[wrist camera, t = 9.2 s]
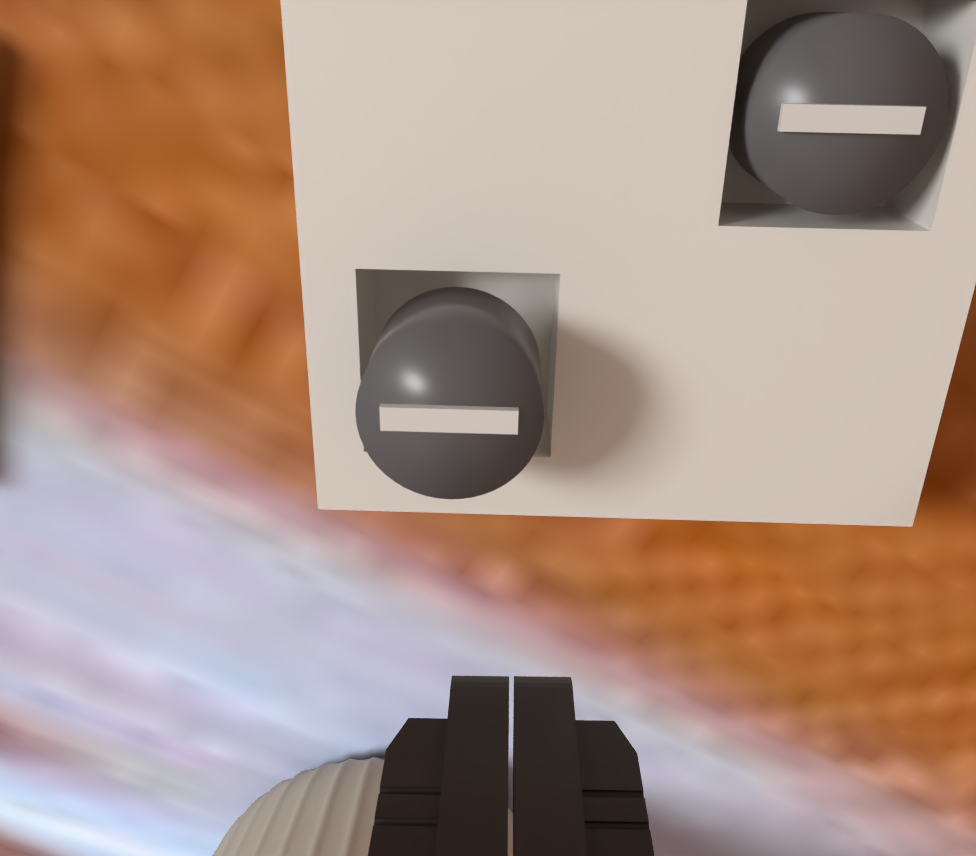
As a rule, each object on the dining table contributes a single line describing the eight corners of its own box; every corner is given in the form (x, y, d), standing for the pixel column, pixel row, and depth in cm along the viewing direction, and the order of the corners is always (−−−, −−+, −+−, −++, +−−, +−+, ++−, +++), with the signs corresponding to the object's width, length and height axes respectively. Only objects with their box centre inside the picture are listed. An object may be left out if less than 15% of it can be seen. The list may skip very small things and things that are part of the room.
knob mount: (290, -437, 20) (240, -537, 16) (1062, -428, 19) (1187, -527, 16) (342, 447, 29) (318, 509, 26) (862, 461, 29) (912, 526, 25)
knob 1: (371, 284, 23) (349, 327, 20) (544, 288, 23) (548, 332, 19) (377, 439, 25) (357, 500, 21) (536, 443, 24) (539, 506, 21)
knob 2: (734, 10, 22) (770, 10, 19) (911, 13, 22) (974, 14, 19) (712, 188, 24) (741, 214, 21) (875, 192, 24) (927, 218, 21)
